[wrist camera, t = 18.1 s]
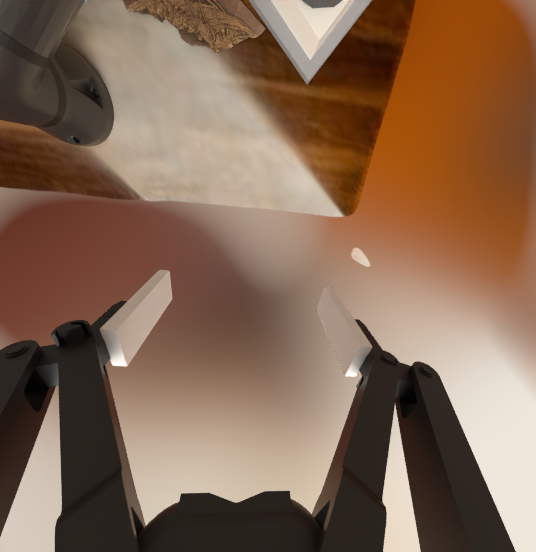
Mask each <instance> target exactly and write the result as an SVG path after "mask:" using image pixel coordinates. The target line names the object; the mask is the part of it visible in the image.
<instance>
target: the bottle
mask: <svg viewBox="0 0 536 552" xmlns="http://www.w3.org/2000/svg"><path fill="white" fill-rule="evenodd" d="M302 1H303V2H304V3H306V4H307V5H308V6H310V7H311V8H328V7H335V6H336V5H337V4H339V3H340V2H341V1H342V0H302Z"/></svg>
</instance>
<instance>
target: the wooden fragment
mask: <svg viewBox="0 0 536 552" xmlns="http://www.w3.org/2000/svg"><path fill="white" fill-rule="evenodd" d="M123 1H124V4H125V6H126V8H127V11H128V12H129V11H133V12H137V11H138V12H139V13H141V14H150V15H153V17H154V18H157V19H158V20H160V21H161V22H163V20H164V19H167V20H168V21H169V22H170V23H171V24H172V25H173V26H175V27H176V28H178V30H179V32H180V35H181V38H182V39H183V40H184V41H186V42H187V43H189V44H190V45H192V46H193V45H199V46H201V45H202V46H207V47H209V48H212V49H213V50H214V51H215V52H216V53H217V52H223V51H224V50H225V49H228V48H230V47H233V45H234V44H237V43H239V42H241V41H243V40H244V39H247V38H248V37H251V38H256V37H257V36H259V35H260V34H261V33H262V32H263V31H264V29H265V28H264V26H263V25H262V24H261V23H260V22H259V21H258V20H257V19H256V17H255V16H254V15H253V14H252V13H251V12H250V10H248V8H247V7H246V6H245V5H244V4H243V3H242V2H241V1H240V0H123Z"/></svg>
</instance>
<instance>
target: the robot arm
mask: <svg viewBox="0 0 536 552" xmlns="http://www.w3.org/2000/svg"><path fill="white" fill-rule="evenodd" d="M86 2H87V1H86V0H0V120H4V121H10V122H15V123H20V124H25V125H31V126H35V127H37V128H39V129H41V130H43V131H44V132H46V133H48V134H50V135H52V136H54V137H55V138H57V139H59V140H61V141H64V142H67V143H70V144H74V145H80V146H95V145H98V144H100V143H102V142H103V141H105V140H106V139H107V137H108V136H109V134H110V132H111V130H112V126H113V119H114V116H113V107H112V102H111V99H110V96H109V93H108V91H107V89H106V87H105V85H104V83H103V81H102V79H101V78H100V76H99V75H98V73H97V72H96V71H95V69H94V68H93V67H92V66H91V65H90V64H89V63H88V62H87V61H86V60H85V59H84V58H83V57H82V56H81V55H79V54H78V53H77V52H75V51H74V50H72V49H71V48H69V47H68V46H66V45H65V44H63V43H61V42H62V40H63V38H64V36H65V35H66V33H67V31H68V29H69V28H70V26H71V24H72V22H73V21H74V19H75V17H76V15H77V13H78V12H79V10H80V8H81V6H82V5H83V3H86ZM171 300H172V290H171V281H170V272H169V271H167V270H159V271H158V272H157V273H156V274H155V275H154V276H153V277H152V278H151V279H150V280H149V281H148V282H147V283H146V284H145V285H144V286H143V287H142V288H141V289H140V290H139V291H138V292H137V293H136V294H135V295H134V296H133V297H132V298H131V299H129V300H128V301H120V302H119V303H116V304H115V305H113V306H112V307H111V308H110V309H108V310H107V312H105V313H104V314H103V315H102V317H100V318H99V319H98V320H97V321H96V322H94V323H93V324H92V325H91V326H90V325H89V323H88V322H87V321H84V320H75V321H70V322H67V323H65V324H62V325H60V326H59V327H57V328H56V329H55V330H54V331H53V332H52V334H51V336H52V338H53V340H54V342H55V345H49V346H43V347H40V346H39V344H38V343H37V342H36V341H33V340H26V341H20V342H17V343H14V344H11V345H9V346H7V347H5V348H3V349H1V350H0V536H1V533H2V531H3V528H4V525H5V523H6V520H7V517H8V514H9V512H10V509H11V506H12V504H13V501H14V498H15V495H16V492H17V490H18V487H19V484H20V482H21V479H22V476H23V474H24V471H25V468H26V466H27V463H28V460H29V458H30V455H31V452H32V450H33V447H34V444H35V441H36V438H37V436H38V433H39V431H40V428H41V425H42V422H43V420H44V417H45V414H46V412H47V409H48V406H49V403H50V401H51V398H52V395H53V393H54V390H55V387H56V386H57V385H59V415H60V448H61V449H60V450H61V481H62V482H61V484H62V512H61V515H60V516H59V518H58V519H57V523H56V527H55V552H383V545H384V537H385V528H386V514H387V513H386V507H385V506H384V504H383V502H382V495H383V487H384V480H385V472H386V465H387V458H388V450H389V443H390V434H391V428H392V420H393V412H394V405H396V410H397V416H398V422H399V427H400V433H401V439H402V445H403V451H404V457H405V462H406V467H407V474H408V480H409V485H410V491H411V497H412V502H413V508H414V515H415V520H416V526H417V532H418V537H419V544H420V549H421V552H516V551H515V549H514V547H513V544H512V542H511V540H510V538H509V535H508V533H507V531H506V529H505V526H504V524H503V521H502V519H501V517H500V514H499V512H498V510H497V508H496V505H495V503H494V501H493V498H492V496H491V494H490V491H489V490H488V487H487V485H486V482H485V480H484V478H483V475H482V473H481V471H480V468H479V466H478V464H477V462H476V459H475V457H474V455H473V452H472V450H471V448H470V446H469V443H468V441H467V439H466V437H465V434H464V432H463V430H462V427H461V425H460V422H459V420H458V418H457V416H456V414H455V411H454V409H453V406H452V404H451V402H450V399H449V397H448V395H447V392H446V390H445V388H444V386H443V383H442V381H441V379H440V376H439V375H438V373H437V372H436V371H435V370H434V369H433V368H431V367H430V366H429V365H427V364H424V363H422V362H415V363H413V365H412V366H409V365H406V364H403V363H399V361H398V360H397V359H396V358H395V357H394V356H393V355H392V354H390V353H389V352H386V351H383V350H382V349H381V347H380V346H379V345H378V343H377V341H376V340H375V339H374V337H373V336H372V335H371V333H370V332H369V331H368V329H367V327H366V326H365V325H364V324H363V323H362V322H361V321H360V320H356V319H354V318H353V317H352V315H351V314H350V312H349V311H348V309H347V308H346V306H345V305H344V303H343V302H342V300H341V299H340V297H339V296H338V294H337V293H336V291H335V290H334V288H333V287H327V286H325V287H324V290H323V293H322V296H321V299H320V302H319V305H318V308H317V313H318V315H319V318H320V320H321V322H322V325H323V327H324V329H325V332H326V334H327V336H328V339H329V341H330V343H331V345H332V348H333V350H334V352H335V355H336V357H337V359H338V362H339V364H340V366H341V368H342V371H343V373H344V375H345V376H353V377H355V376H356V375H357V374H358V372H359V371H360V372H361V375H362V378H361V379H360V381H359V383H358V384H357V386H356V387H357V391H356V394H355V397H354V399H353V402H352V405H351V408H350V411H349V414H348V417H347V420H346V423H345V425H344V428H343V431H342V434H341V437H340V440H339V443H338V446H337V449H336V452H335V455H334V457H333V460H332V463H331V466H330V469H329V472H328V475H327V478H326V481H325V484H324V486H323V489H322V492H321V494H320V496H319V498H318V500H317V503H316V505H315V507H314V510H313V513H312V514H310V512H309V511H308V510H307V509H306V508H304V507H303V506H302V505H301V504H299V503H298V502H296V501H294V500H292V499H290V491H266V492H262V493H260V494H257V495H255V496H253V497H250V498H248V499H246V500H243V501H241V502H239V503H234V502H231V501H229V500H226V499H224V498H221V497H218V496H216V495H213V494H210V493H188V494H187V493H186V494H181V497H180V501H179V502H178V503H175V504H173V505H171V506H170V507H168V508H166V509H165V510H163V511H162V512H161V513H159V514H158V515H157V516H156V517H155V518H154V519H153V520H151V521H150V522H149V523H148V525H147V526H145V522H144V518H143V514H142V511H141V507H140V504H139V501H138V498H137V494H136V490H135V486H134V482H133V478H132V473H131V469H130V465H129V461H128V457H127V453H126V448H125V444H124V441H123V436H122V432H121V427H120V423H119V419H118V415H117V411H116V407H115V402H114V398H113V394H112V390H111V386H110V381H109V377H108V373H107V369H106V366H105V364H106V363H107V362H108V361H109V359H110V360H111V362H112V365H113V366H128V364H129V363H130V361H131V360H132V358H133V357H134V355H135V354H136V352H137V351H138V349H139V348H140V346H141V345H142V343H143V342H144V340H145V339H146V337H147V336H148V334H149V333H150V331H151V330H152V328H153V327H154V325H155V324H156V323H157V321H158V320H159V318H160V316H161V315H162V313H163V312H164V311H165V309H166V308H167V306H168V304H169V303H170V302H171Z"/></svg>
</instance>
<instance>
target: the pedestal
mask: <svg viewBox="0 0 536 552" xmlns="http://www.w3.org/2000/svg"><path fill="white" fill-rule="evenodd" d="M249 1H250V3H251V4H252V6H253V7H254V9H255V10H256V11H257V13H258V14H259V16H260V17H261V19H262V20H263V22H264V23H265V24H266V26H267V27H268V29H269V30H270V32H271V33H272V34H273V36H274V37H275V39H276V40H277V42H278V43H279V45H280V46H281V47H282V49H283V50H284V52H285V53H286V55H287V56H288V58H289V59H290V60H291V62H292V63H293V65H294V66H295V68H296V69H297V71H298V72H299V73H300V75H301V76H302V78H303V79H304V81H305V82H306V83H307V84H308V83H309V82H310V80H311V79H312V78H313V76H314V75H315V74H316V72H317V71H318V70H319V69H320V67H321V66H322V65H323V63H324V62H325V61H326V59H327V58H328V57H329V56H330V54H331V53H332V52H333V50H334V49H335V48H336V46H337V45H338V44H339V43H340V41H341V40H342V39H343V37H344V36H345V35H346V33H347V32H348V31H349V29H350V28H351V27H352V26H353V24H354V23H355V22H356V20H357V19H358V18H359V16H360V15H361V14H362V13H363V11H364V10H365V9H366V7H367V6H368V5H369V3H370V2H371V1H372V0H342V1H341V2H340V3H339V4H337V5H336V6H335V7H328V8H311V7H310V6H308V5H307V4H306V3H304V2H303V1H302V0H249Z"/></svg>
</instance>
